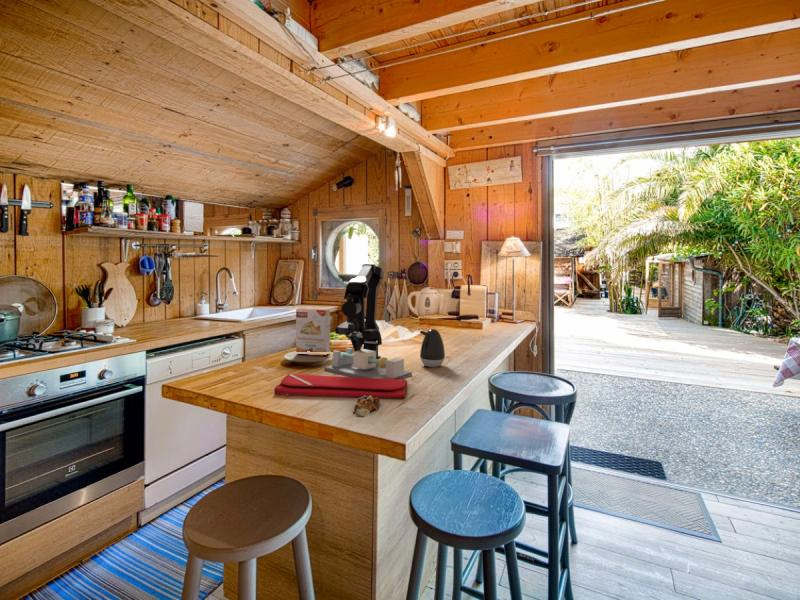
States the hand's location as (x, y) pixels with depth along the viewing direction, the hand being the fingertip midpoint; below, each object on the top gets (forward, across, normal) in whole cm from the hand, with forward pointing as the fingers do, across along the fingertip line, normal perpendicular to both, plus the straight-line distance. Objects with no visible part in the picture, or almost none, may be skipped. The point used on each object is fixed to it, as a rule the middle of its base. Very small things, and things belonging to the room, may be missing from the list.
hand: (356, 353), depth 161 cm
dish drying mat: (+7, +14, -21) cm, 26 cm away
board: (+6, +6, 0) cm, 8 cm away
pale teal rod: (+3, +4, 0) cm, 6 cm away
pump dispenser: (+7, +18, +25) cm, 32 cm away
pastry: (+7, +32, -29) cm, 44 cm away
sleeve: (+4, +4, 0) cm, 6 cm away
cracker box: (+7, -34, +7) cm, 35 cm away
